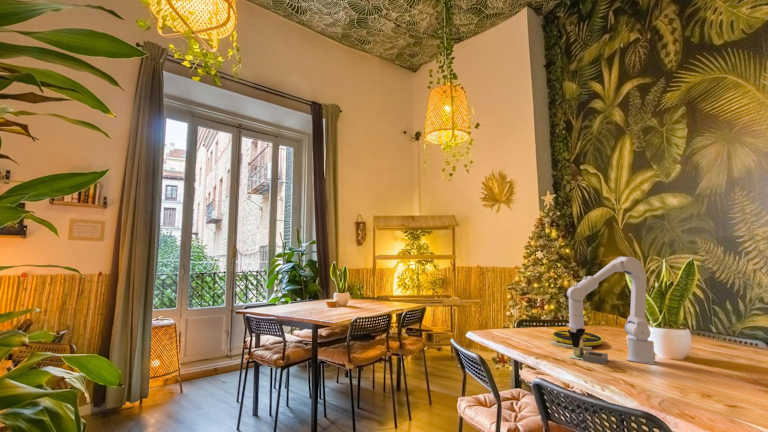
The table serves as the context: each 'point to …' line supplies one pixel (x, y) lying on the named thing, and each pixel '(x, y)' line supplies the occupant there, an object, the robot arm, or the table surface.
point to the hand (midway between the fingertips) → (577, 346)
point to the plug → (579, 350)
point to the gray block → (595, 357)
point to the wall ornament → (564, 337)
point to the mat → (576, 357)
